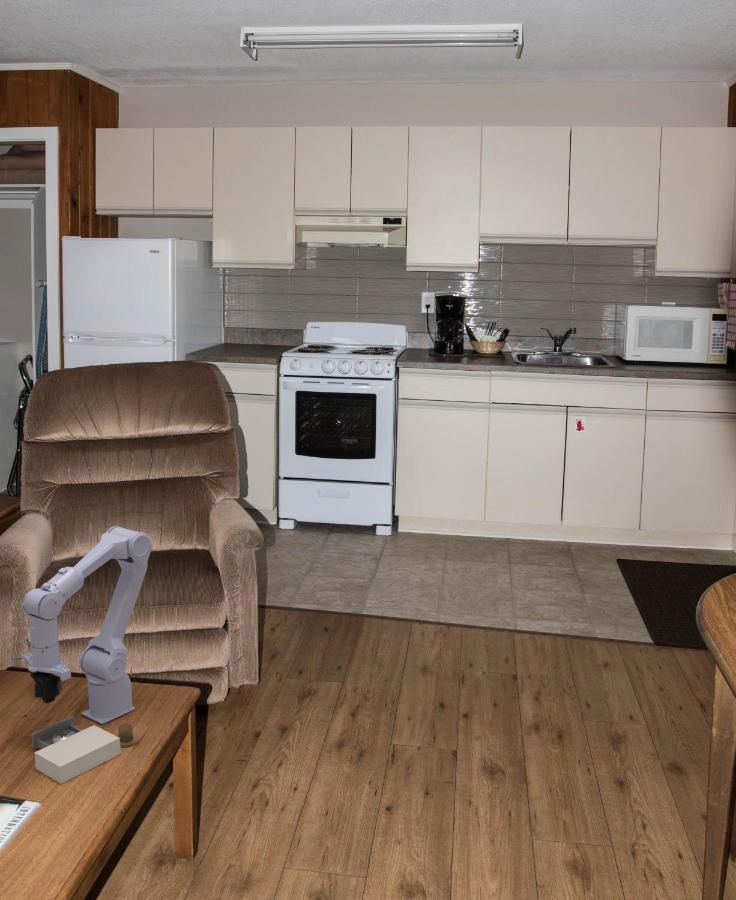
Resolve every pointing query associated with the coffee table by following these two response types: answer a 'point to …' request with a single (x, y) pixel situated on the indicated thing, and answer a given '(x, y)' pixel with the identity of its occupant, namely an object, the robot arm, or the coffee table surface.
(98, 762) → the player
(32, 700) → the coffee table surface
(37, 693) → the watch
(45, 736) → the tray
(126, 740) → the stand
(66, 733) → the disc
